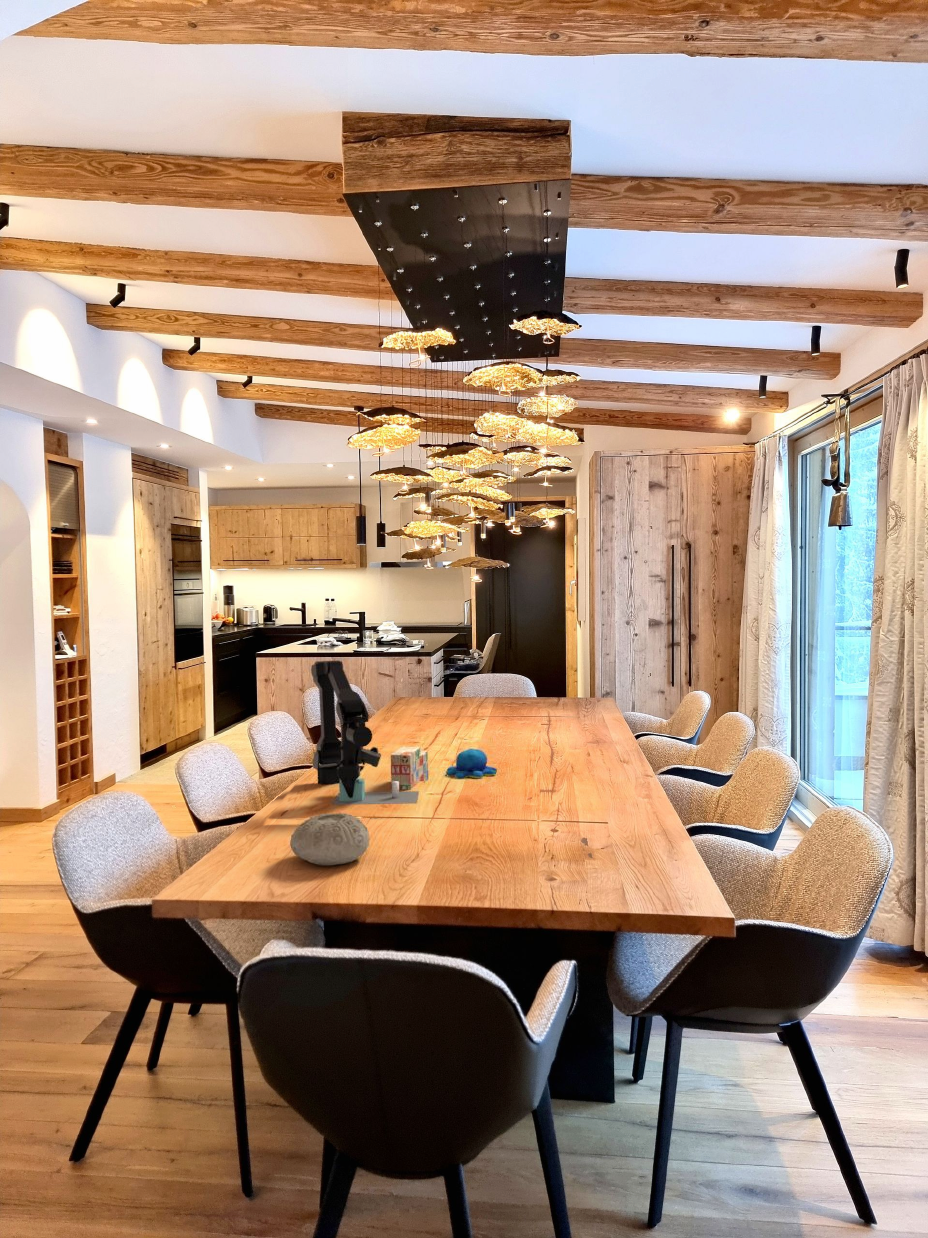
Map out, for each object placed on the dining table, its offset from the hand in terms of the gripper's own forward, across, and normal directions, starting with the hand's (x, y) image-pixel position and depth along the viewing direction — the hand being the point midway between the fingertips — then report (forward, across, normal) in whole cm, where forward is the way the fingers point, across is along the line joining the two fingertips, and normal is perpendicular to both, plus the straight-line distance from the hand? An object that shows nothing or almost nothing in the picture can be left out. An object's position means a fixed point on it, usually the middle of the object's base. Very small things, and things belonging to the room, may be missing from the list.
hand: (352, 794), depth 247 cm
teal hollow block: (+1, 0, 0) cm, 1 cm away
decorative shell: (+3, -51, -1) cm, 51 cm away
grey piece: (+2, 0, -7) cm, 7 cm away
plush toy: (+3, +37, -35) cm, 51 cm away
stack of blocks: (+3, +20, -16) cm, 26 cm away
